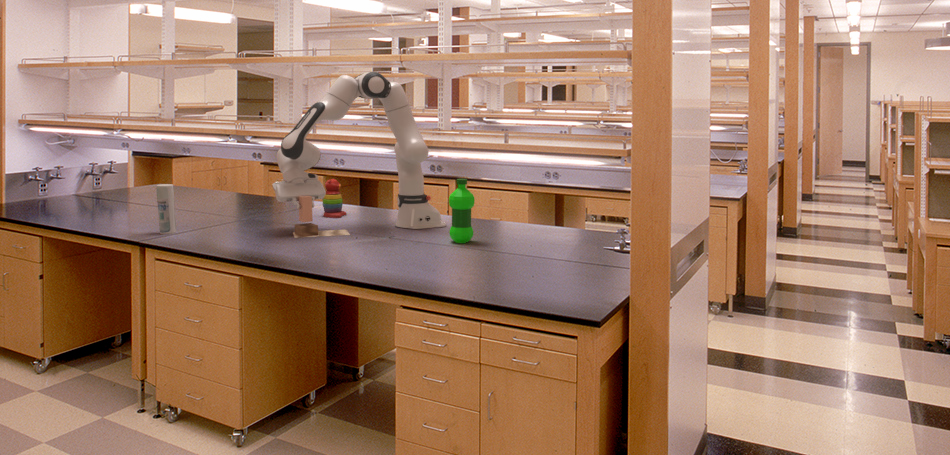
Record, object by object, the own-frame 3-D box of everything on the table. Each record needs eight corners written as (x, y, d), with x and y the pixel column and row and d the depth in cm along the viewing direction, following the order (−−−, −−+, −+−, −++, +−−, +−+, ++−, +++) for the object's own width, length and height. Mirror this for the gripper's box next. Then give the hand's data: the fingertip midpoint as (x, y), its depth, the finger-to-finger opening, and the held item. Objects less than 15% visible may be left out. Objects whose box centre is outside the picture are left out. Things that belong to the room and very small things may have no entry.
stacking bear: (339, 218, 331) (338, 180, 328) (319, 217, 333) (318, 179, 330) (347, 214, 341) (347, 178, 338) (328, 213, 343) (327, 177, 340)
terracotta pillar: (308, 219, 287) (307, 195, 285) (312, 221, 284) (311, 196, 282) (299, 220, 284) (298, 196, 283) (303, 222, 281) (302, 197, 279)
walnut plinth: (311, 232, 290) (310, 222, 289) (318, 235, 284) (317, 225, 284) (294, 234, 286) (294, 224, 285) (301, 236, 280) (301, 227, 279)
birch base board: (346, 232, 297) (346, 229, 297) (350, 237, 286) (350, 234, 286) (292, 234, 290) (292, 232, 290) (294, 240, 279) (294, 237, 279)
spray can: (156, 233, 290) (152, 185, 286) (168, 230, 296) (164, 183, 292) (168, 234, 288) (164, 186, 284) (180, 232, 294) (176, 184, 290)
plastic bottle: (452, 238, 286) (453, 177, 281) (477, 240, 283) (478, 178, 278) (444, 243, 277) (444, 180, 272) (470, 245, 274) (470, 181, 269)
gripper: (272, 177, 280) (283, 204, 274) (320, 174, 292) (331, 200, 286) (269, 187, 285) (279, 214, 279) (316, 184, 296) (327, 210, 291)
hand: (306, 207), depth 282 cm, fingers closed on terracotta pillar, 4 cm apart
